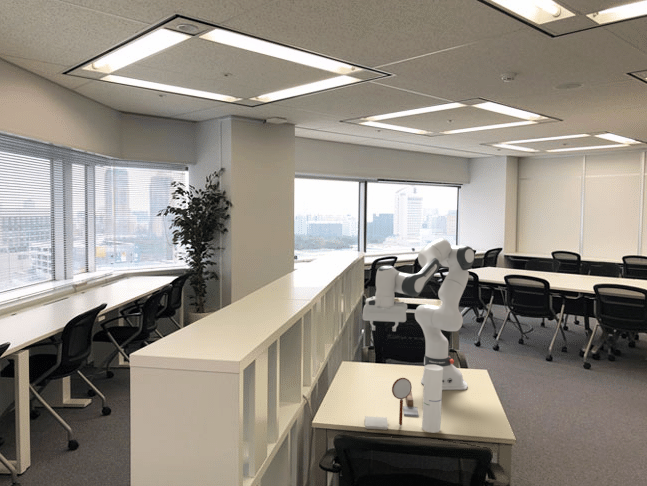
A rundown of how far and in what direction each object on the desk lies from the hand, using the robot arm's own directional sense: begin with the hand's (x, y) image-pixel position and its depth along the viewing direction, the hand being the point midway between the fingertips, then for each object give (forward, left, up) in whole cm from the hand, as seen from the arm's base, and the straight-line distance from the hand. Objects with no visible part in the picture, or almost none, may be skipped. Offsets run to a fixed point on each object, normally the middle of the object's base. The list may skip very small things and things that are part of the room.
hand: (383, 330), depth 232 cm
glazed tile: (+3, +28, -30) cm, 41 cm away
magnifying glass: (-7, +33, -31) cm, 46 cm away
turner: (-12, +12, -31) cm, 35 cm away
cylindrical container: (-19, +33, -31) cm, 49 cm away
